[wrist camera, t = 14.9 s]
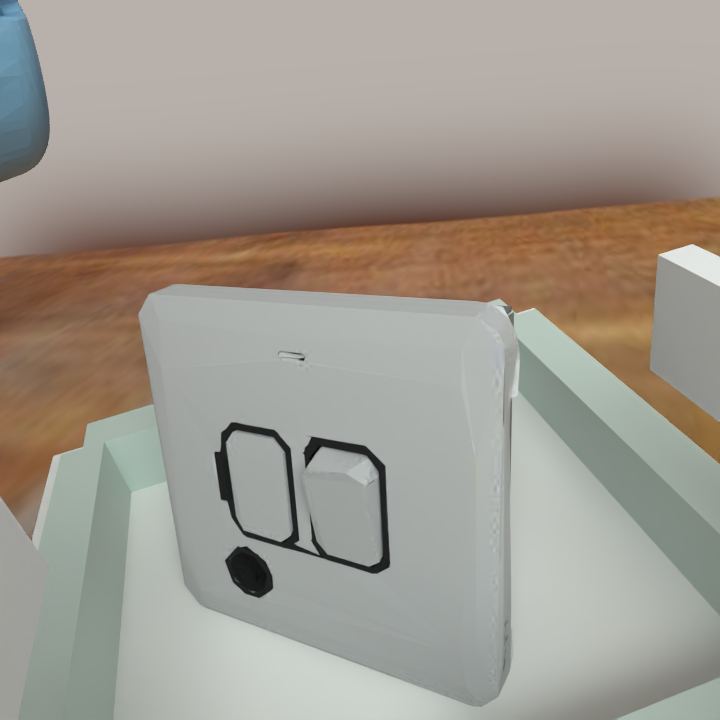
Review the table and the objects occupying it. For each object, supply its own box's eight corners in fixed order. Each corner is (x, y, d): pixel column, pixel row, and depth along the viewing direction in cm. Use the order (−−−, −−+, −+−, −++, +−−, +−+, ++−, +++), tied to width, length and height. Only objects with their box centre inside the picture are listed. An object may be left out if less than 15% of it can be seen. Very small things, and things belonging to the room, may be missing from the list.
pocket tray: (63, 473, 27) (24, 409, 25) (534, 326, 29) (532, 258, 27) (-178, 1542, 8) (-403, 1608, 6) (1157, 881, 11) (1278, 788, 9)
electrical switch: (187, 607, 18) (76, 322, 14) (283, 495, 22) (219, 246, 18) (502, 727, 14) (481, 368, 10) (552, 562, 18) (553, 254, 14)
